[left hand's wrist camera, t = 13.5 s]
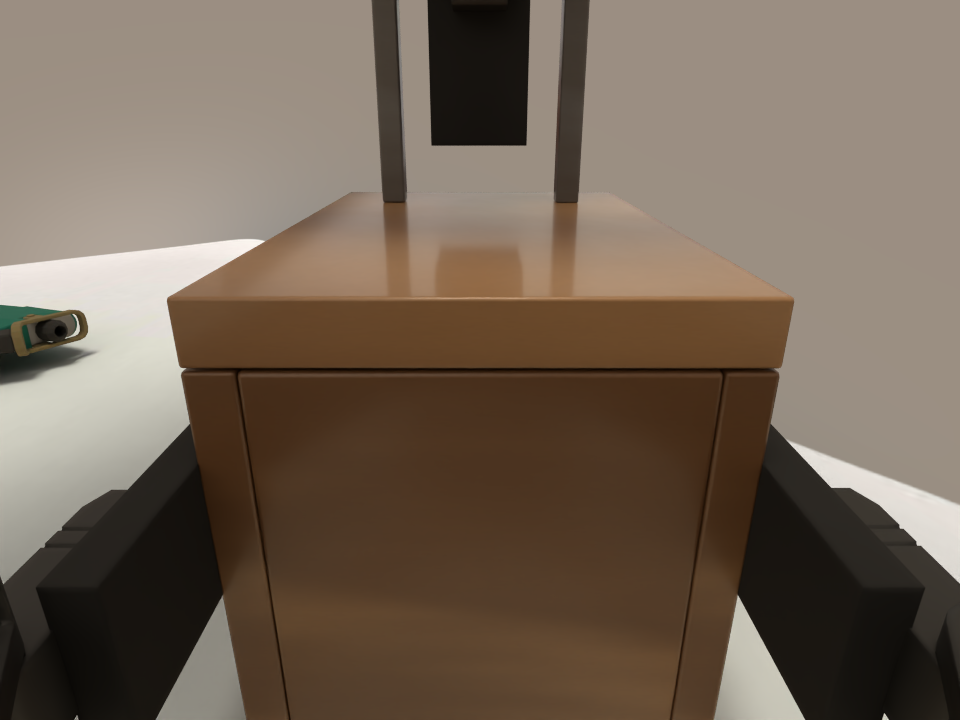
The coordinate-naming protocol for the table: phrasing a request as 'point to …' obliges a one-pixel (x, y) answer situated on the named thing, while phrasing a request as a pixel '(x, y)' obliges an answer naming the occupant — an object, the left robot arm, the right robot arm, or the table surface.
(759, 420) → the chest
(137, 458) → the table surface
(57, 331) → the spray gun
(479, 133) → the right robot arm
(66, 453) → the table surface
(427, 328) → the lid
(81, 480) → the table surface
